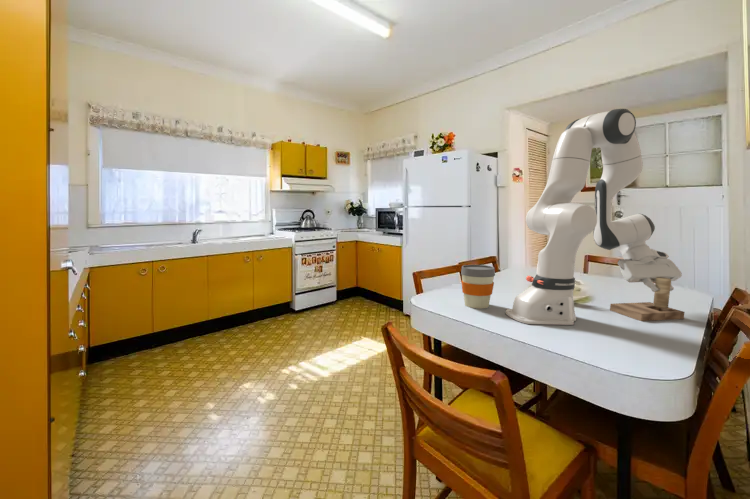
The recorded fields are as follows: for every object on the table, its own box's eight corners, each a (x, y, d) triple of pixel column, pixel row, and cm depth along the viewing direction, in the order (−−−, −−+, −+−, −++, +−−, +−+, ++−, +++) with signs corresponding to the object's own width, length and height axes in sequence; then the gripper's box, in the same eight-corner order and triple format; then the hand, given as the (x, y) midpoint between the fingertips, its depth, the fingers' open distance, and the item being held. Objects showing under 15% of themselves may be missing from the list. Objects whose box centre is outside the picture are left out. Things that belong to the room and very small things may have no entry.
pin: (661, 308, 115) (664, 280, 114) (650, 305, 119) (653, 277, 118) (671, 307, 116) (674, 279, 115) (659, 304, 120) (662, 277, 119)
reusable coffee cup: (458, 300, 138) (459, 264, 136) (490, 301, 136) (492, 265, 134) (461, 309, 126) (462, 269, 124) (496, 310, 124) (498, 270, 122)
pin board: (640, 321, 112) (641, 313, 112) (610, 310, 124) (610, 303, 124) (683, 319, 114) (684, 311, 114) (649, 308, 126) (649, 302, 126)
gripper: (621, 254, 121) (643, 286, 113) (670, 253, 124) (696, 284, 115) (610, 264, 126) (631, 296, 117) (657, 263, 129) (681, 294, 120)
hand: (663, 290), depth 116 cm, fingers closed on pin, 4 cm apart
